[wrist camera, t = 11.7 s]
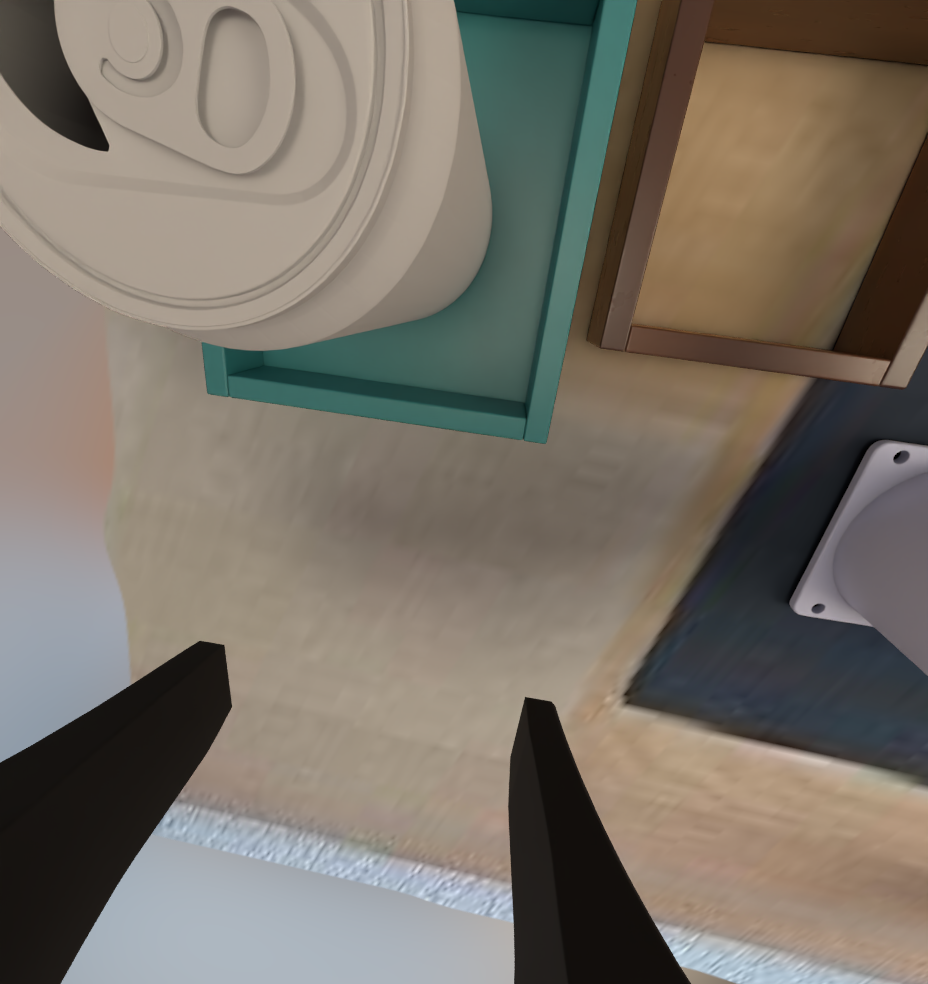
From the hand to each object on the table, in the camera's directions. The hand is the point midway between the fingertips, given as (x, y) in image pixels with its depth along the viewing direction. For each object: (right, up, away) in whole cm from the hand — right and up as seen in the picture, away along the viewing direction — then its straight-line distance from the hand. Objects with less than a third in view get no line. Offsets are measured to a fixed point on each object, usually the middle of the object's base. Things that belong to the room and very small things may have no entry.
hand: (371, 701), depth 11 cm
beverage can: (0, +14, +5) cm, 15 cm away
